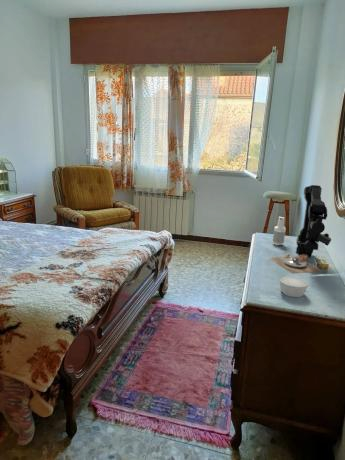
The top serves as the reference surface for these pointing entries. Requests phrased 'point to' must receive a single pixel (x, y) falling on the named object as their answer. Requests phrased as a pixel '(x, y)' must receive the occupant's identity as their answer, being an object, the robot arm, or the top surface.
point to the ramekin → (293, 286)
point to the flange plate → (298, 265)
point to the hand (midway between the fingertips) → (309, 257)
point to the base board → (292, 270)
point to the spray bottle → (279, 232)
